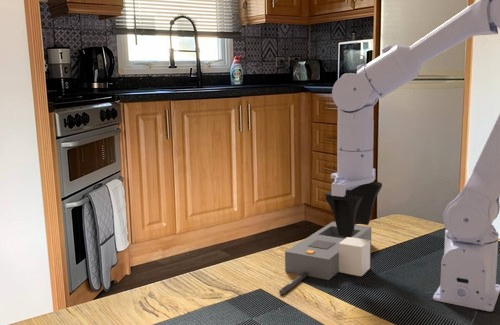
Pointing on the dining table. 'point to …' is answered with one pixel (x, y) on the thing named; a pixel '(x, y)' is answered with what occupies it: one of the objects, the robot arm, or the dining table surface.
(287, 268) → the power strip
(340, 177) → the robot arm
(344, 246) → the plug
